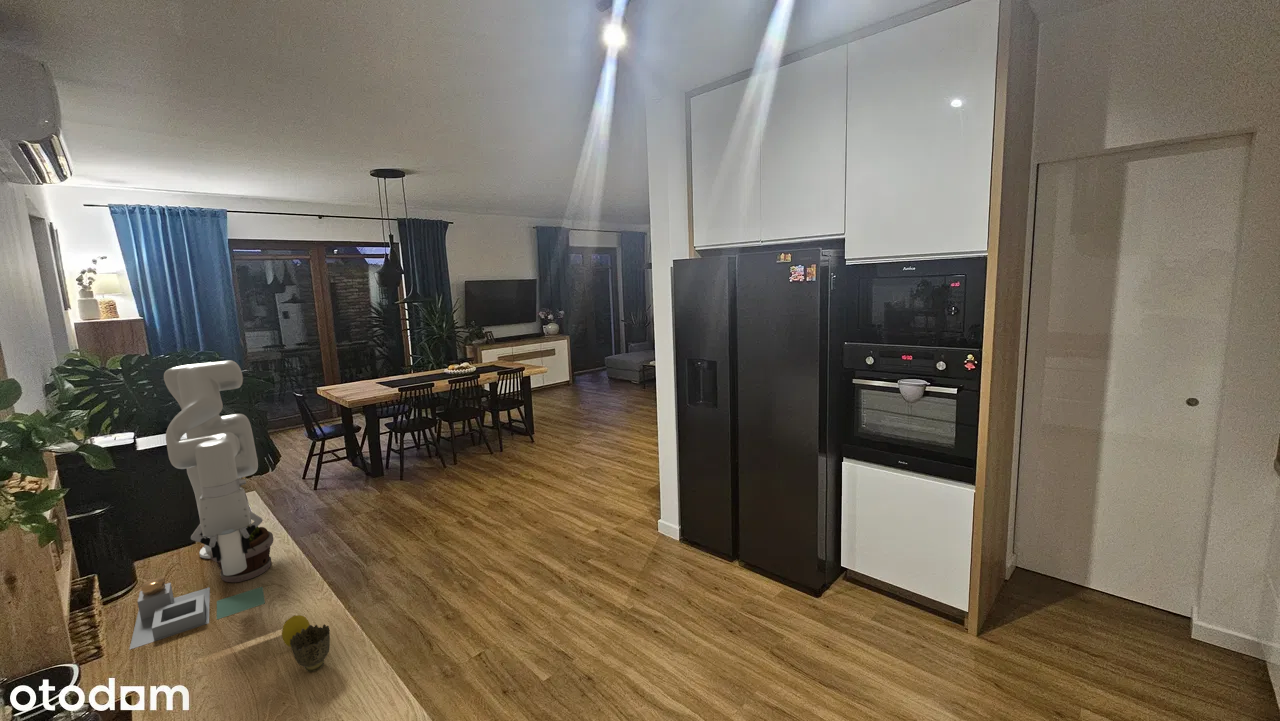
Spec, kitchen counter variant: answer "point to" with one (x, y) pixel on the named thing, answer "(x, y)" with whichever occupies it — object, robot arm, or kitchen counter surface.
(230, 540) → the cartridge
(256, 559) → the flowerpot
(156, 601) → the grey base with tray
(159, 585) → the plunger
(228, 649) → the kitchen counter surface
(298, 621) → the lemon
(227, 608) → the mat
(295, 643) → the spiky dark pot
